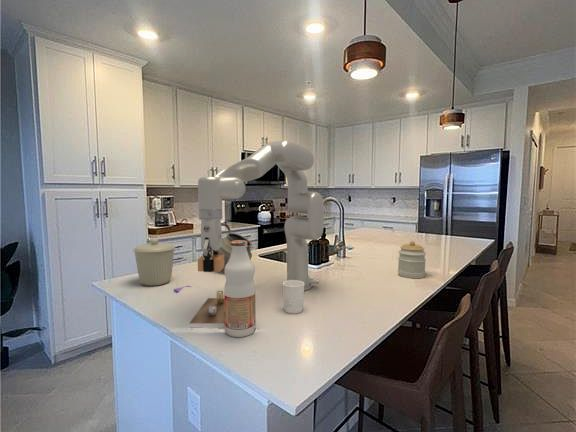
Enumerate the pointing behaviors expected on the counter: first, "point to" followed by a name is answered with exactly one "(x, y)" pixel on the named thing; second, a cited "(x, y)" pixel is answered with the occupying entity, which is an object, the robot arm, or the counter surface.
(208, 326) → the counter surface
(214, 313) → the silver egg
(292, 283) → the white cup
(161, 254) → the canister
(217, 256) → the collar
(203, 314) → the walnut board
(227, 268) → the fruit juice
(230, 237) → the pot
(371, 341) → the counter surface
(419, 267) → the jar
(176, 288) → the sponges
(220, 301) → the short gold cylinder
